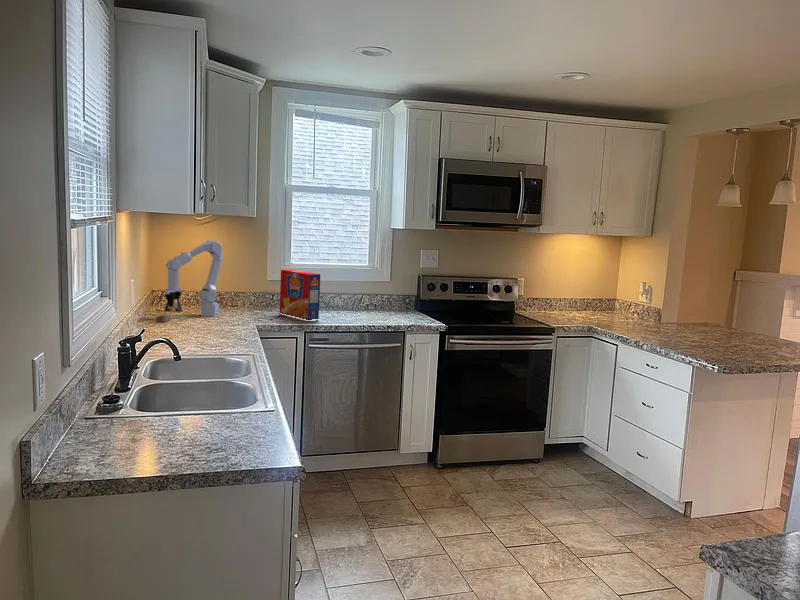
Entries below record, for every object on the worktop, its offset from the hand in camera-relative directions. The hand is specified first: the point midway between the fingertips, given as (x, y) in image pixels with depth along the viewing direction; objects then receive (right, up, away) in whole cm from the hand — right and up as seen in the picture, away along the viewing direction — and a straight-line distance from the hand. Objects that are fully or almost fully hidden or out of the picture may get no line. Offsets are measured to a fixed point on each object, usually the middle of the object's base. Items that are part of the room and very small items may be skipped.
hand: (173, 305), depth 333 cm
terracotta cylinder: (0, -2, 0) cm, 2 cm away
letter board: (0, -8, +1) cm, 8 cm away
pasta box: (+64, -8, +31) cm, 72 cm away
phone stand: (-10, -4, +26) cm, 28 cm away
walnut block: (-1, -10, -11) cm, 15 cm away
